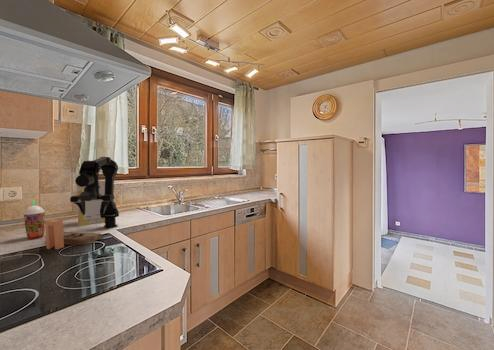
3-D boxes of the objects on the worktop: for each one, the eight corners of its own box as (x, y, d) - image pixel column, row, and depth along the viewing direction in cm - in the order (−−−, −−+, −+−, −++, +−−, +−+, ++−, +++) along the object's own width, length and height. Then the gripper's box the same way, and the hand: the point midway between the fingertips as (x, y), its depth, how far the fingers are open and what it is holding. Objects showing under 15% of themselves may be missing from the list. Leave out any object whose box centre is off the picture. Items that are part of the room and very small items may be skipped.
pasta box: (78, 226, 141) (76, 181, 139) (79, 222, 149) (76, 180, 148) (112, 221, 151) (110, 180, 150) (110, 218, 160) (109, 179, 158)
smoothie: (22, 241, 114) (20, 202, 113) (27, 236, 121) (25, 200, 120) (44, 238, 119) (42, 200, 117) (47, 234, 126) (45, 198, 125)
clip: (53, 246, 107) (51, 219, 106) (64, 247, 106) (62, 219, 106) (46, 248, 104) (45, 221, 103) (57, 249, 103) (56, 221, 103)
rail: (64, 236, 121) (64, 231, 121) (101, 238, 118) (101, 233, 118) (45, 243, 112) (45, 238, 111) (85, 245, 109) (85, 240, 108)
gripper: (62, 186, 107) (63, 219, 108) (104, 186, 110) (106, 217, 111) (75, 184, 118) (77, 213, 119) (114, 183, 121) (115, 212, 122)
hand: (93, 214), depth 118 cm, fingers open, 9 cm apart
